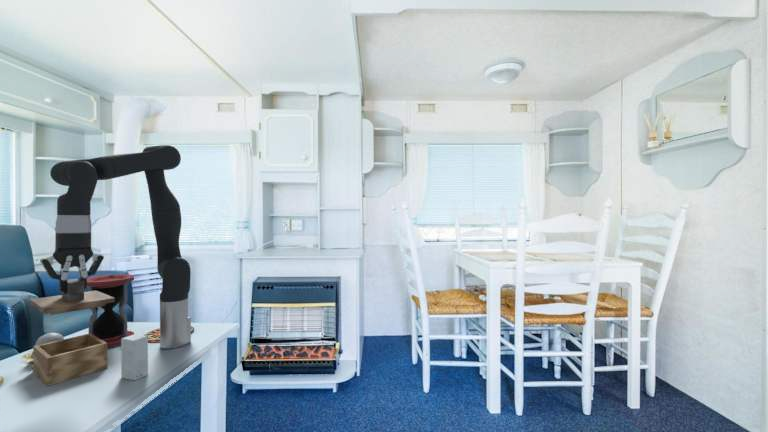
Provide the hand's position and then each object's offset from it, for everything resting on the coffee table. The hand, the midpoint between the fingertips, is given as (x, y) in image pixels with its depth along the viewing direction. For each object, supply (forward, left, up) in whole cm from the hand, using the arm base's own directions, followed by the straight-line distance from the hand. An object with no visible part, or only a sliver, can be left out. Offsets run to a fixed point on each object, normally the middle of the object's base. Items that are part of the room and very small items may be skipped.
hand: (73, 291), depth 96 cm
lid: (0, 0, -4) cm, 4 cm away
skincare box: (-13, +6, -28) cm, 31 cm away
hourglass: (-19, -35, -28) cm, 48 cm away
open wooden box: (-3, -16, -28) cm, 32 cm away
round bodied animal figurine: (-3, -33, -28) cm, 43 cm away
